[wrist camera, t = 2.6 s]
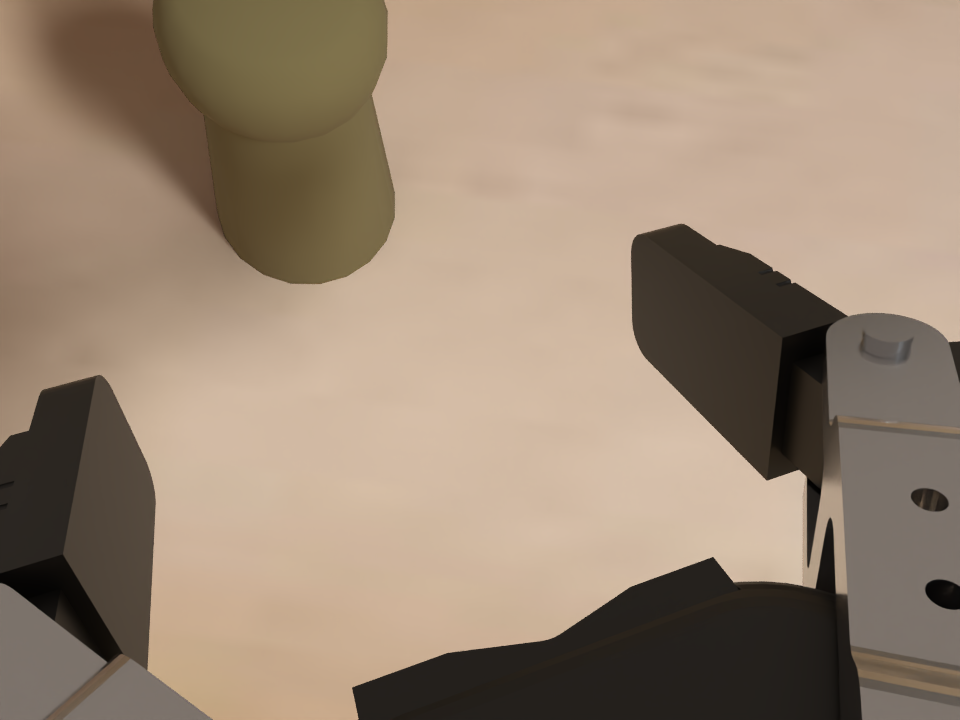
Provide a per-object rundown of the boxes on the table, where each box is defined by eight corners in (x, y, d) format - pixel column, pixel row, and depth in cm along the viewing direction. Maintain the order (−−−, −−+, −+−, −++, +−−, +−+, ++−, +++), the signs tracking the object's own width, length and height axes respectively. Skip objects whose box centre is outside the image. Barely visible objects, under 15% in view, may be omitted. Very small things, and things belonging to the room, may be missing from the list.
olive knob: (407, 140, 28) (429, -113, 17) (380, 298, 26) (384, 126, 16) (237, 108, 27) (150, -175, 17) (199, 268, 26) (76, 68, 15)
